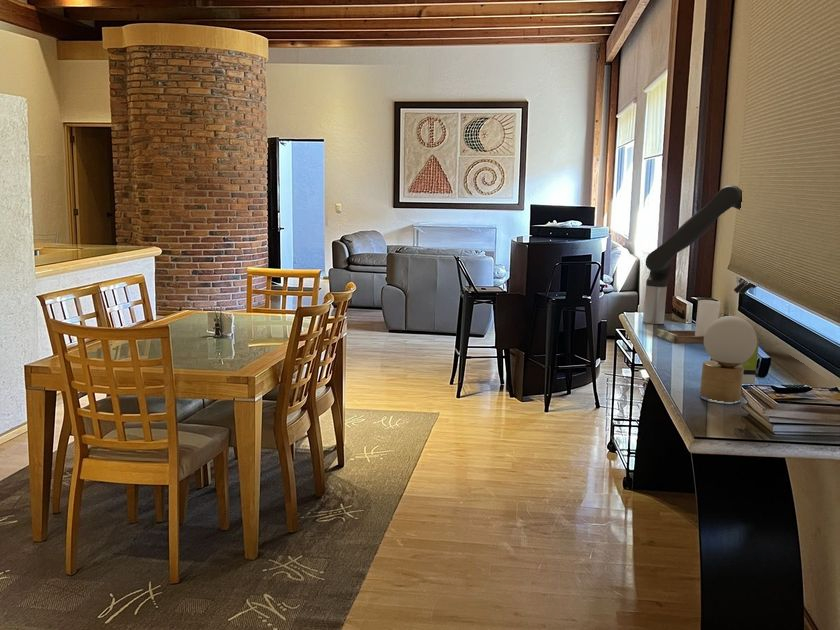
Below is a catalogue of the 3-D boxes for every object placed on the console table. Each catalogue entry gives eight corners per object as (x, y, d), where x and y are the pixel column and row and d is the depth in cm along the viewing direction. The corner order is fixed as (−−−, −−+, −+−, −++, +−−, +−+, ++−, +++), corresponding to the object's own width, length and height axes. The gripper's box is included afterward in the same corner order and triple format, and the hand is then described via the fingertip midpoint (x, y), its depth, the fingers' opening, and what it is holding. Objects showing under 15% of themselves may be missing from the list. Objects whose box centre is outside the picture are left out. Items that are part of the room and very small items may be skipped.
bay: (656, 335, 334) (657, 328, 333) (708, 336, 338) (709, 329, 338) (673, 342, 319) (674, 335, 319) (728, 342, 324) (729, 335, 323)
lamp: (759, 409, 222) (769, 321, 219) (710, 408, 221) (719, 319, 217) (734, 394, 237) (742, 312, 233) (688, 394, 236) (696, 311, 232)
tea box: (707, 374, 265) (711, 330, 262) (737, 375, 264) (742, 331, 262) (723, 385, 250) (727, 339, 247) (755, 386, 249) (760, 340, 247)
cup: (712, 338, 333) (716, 300, 331) (717, 341, 325) (721, 303, 323) (692, 337, 334) (696, 299, 332) (697, 340, 326) (701, 302, 323)
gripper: (752, 255, 335) (723, 283, 335) (773, 258, 322) (742, 288, 321) (762, 268, 337) (733, 296, 337) (783, 271, 323) (753, 301, 323)
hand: (738, 292), depth 329 cm, fingers open, 3 cm apart
